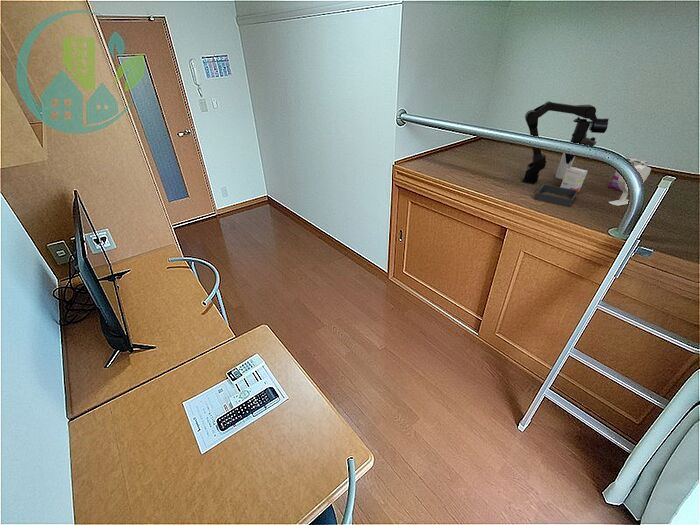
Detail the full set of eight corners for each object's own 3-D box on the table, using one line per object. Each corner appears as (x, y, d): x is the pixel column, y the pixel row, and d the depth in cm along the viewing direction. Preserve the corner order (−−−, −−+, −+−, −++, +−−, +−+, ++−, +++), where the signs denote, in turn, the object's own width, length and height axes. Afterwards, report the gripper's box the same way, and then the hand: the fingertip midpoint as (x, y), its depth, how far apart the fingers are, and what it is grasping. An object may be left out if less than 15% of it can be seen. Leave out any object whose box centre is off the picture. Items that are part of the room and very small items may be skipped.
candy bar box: (635, 192, 172) (650, 161, 163) (628, 193, 171) (644, 162, 161) (614, 185, 181) (628, 156, 172) (608, 187, 179) (621, 157, 170)
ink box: (579, 192, 173) (588, 170, 167) (574, 193, 171) (583, 172, 165) (564, 187, 180) (572, 166, 173) (559, 188, 178) (566, 167, 171)
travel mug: (554, 176, 195) (566, 141, 184) (566, 177, 193) (579, 143, 182) (553, 179, 191) (565, 144, 180) (566, 180, 188) (579, 145, 177)
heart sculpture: (626, 198, 166) (644, 163, 156) (636, 201, 162) (655, 166, 152) (605, 202, 161) (621, 166, 151) (615, 206, 157) (632, 169, 147)
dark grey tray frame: (534, 199, 166) (536, 192, 164) (541, 190, 176) (544, 184, 174) (569, 206, 157) (572, 200, 155) (575, 196, 168) (577, 190, 166)
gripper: (595, 137, 157) (583, 168, 166) (601, 130, 169) (589, 160, 177) (569, 134, 163) (559, 164, 172) (577, 128, 175) (566, 157, 183)
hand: (569, 161), depth 176 cm, fingers open, 9 cm apart
